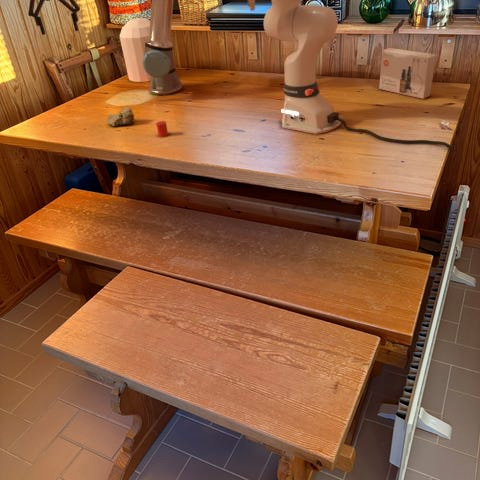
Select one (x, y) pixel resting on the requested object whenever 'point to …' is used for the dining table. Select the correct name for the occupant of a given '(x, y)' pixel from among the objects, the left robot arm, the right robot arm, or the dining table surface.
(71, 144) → the dining table surface
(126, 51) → the container
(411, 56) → the skincare box
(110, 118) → the rock
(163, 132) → the can
